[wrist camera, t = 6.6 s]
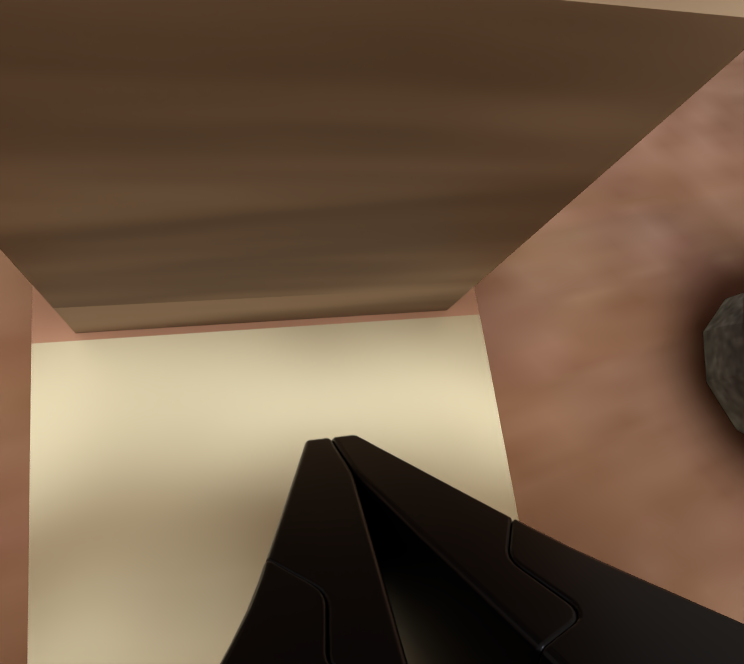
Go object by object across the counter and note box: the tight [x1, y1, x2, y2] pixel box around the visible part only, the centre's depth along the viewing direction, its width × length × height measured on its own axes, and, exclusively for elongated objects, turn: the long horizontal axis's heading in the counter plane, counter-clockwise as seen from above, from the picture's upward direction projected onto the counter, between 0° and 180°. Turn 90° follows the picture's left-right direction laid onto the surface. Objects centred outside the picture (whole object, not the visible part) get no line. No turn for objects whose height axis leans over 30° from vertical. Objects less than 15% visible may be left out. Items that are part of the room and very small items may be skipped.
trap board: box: [27, 285, 519, 664], centre depth 16 cm, size 16×12×2 cm
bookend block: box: [0, 0, 744, 333], centre depth 11 cm, size 5×10×11 cm, turn 98°
